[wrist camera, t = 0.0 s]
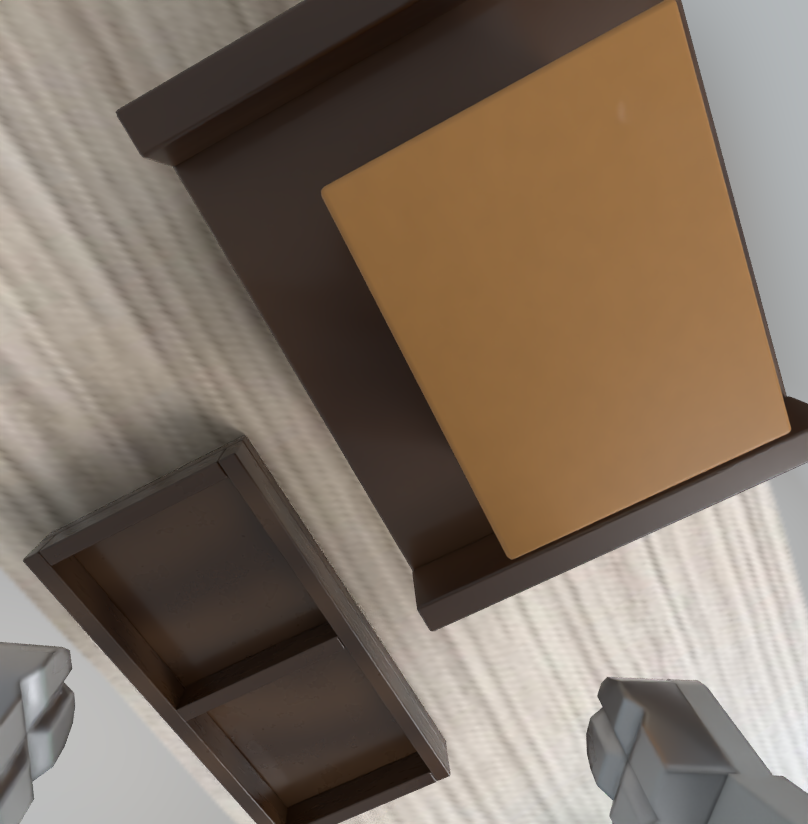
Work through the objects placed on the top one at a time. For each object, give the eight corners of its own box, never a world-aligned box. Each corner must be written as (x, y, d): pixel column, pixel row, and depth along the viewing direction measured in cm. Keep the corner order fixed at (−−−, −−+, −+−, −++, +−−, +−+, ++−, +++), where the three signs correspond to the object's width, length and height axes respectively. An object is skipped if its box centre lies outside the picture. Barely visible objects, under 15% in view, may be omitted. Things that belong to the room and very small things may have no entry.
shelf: (48, 534, 24) (21, 560, 22) (245, 434, 23) (234, 452, 21) (284, 810, 30) (278, 849, 28) (445, 740, 29) (451, 776, 27)
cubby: (254, 176, 20) (111, 110, 9) (503, 37, 19) (691, -229, 8) (402, 446, 23) (431, 634, 12) (615, 341, 22) (847, 445, 12)
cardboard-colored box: (335, 203, 11) (317, 189, 7) (564, 79, 10) (677, -9, 7) (469, 466, 13) (511, 565, 9) (665, 372, 12) (796, 435, 9)
